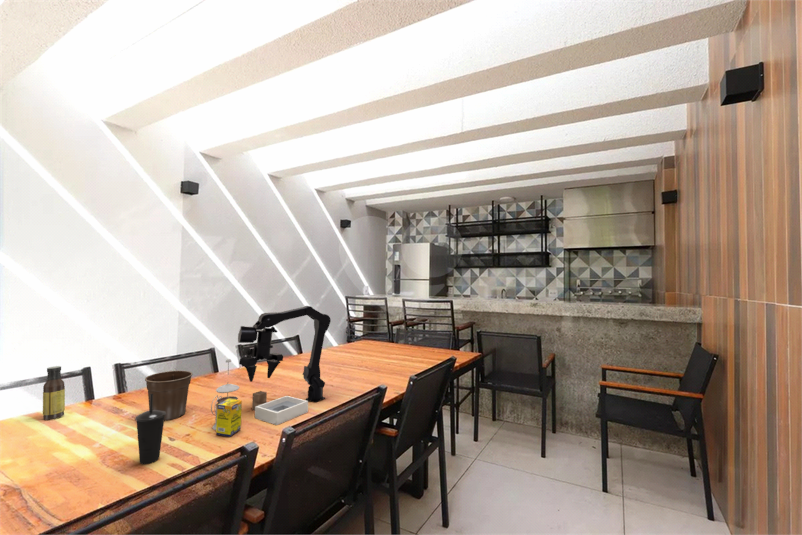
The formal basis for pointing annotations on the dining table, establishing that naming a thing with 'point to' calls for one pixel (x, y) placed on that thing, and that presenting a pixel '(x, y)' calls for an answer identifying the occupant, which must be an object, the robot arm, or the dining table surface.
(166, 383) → the plant pot
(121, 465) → the dining table surface
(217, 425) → the supplement box
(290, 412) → the tray
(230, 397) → the french press
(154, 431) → the drinking cup
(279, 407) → the socket plate
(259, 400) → the peg
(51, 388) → the sauce bottle
